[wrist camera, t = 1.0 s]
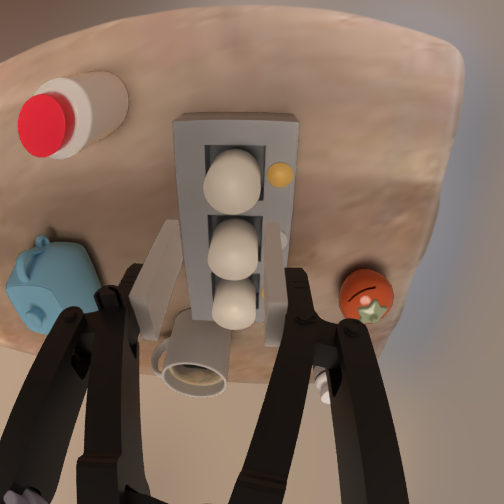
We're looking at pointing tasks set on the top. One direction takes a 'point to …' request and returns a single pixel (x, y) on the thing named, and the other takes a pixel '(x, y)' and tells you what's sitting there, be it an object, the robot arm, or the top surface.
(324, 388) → the pill bottle
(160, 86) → the top surface
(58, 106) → the pill bottle
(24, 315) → the teapot
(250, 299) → the button
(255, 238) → the button middle
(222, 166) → the button
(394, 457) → the robot arm
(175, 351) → the mug
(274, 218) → the console
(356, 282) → the tomato
